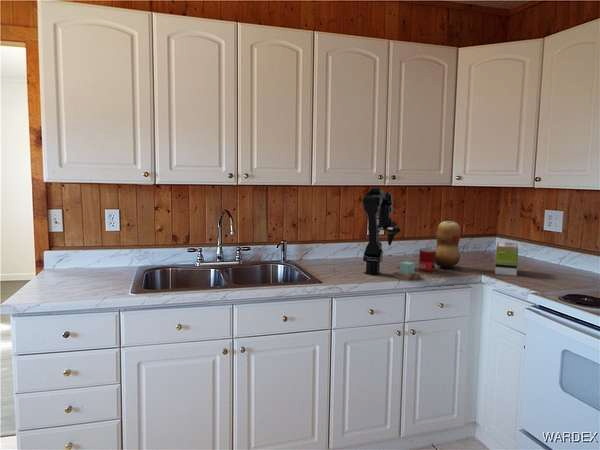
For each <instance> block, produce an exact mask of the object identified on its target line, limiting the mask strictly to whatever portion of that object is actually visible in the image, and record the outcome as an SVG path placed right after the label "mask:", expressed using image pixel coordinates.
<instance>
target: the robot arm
mask: <svg viewBox="0 0 600 450" xmlns="http://www.w3.org/2000/svg"><path fill="white" fill-rule="evenodd" d="M362 205H363V210H364V212H365V213H366V214H367V225H368V226H367V230H368V231H367V232H368V243H367V245H366V247H365V250H364V252H363V257H362V259H363V262H365V271H363V273H364V274H366V275H370V276H375V275H376V276H377V275H382V272H380V269H381V267H380V266H381V264H380V263H382V262H383V258H384V257H383V255H384V250H383V245H382V242H381V241H379V236H380V235H379V233H380V231H386V237H387V242H388V243H387V244H388V246H392V243H393V240H394V238H395V236H396V235H398V234H399V233H401V228H400V227H399V226H397V224H398V223H397V222H396V221H393V220H392V217H390V215H391V214H393V212H394V206H393V205H394V200H393V195H392V192H385V191H384V190H383V189H382V188H381V187H372V188H371V187H370V190H369V191H367V192H366V193H365V194H364V196H363V199H362Z"/></svg>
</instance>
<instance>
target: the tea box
mask: <svg viewBox="0 0 600 450" xmlns="http://www.w3.org/2000/svg"><path fill="white" fill-rule="evenodd" d="M495 248H496V249H495V264H494V265H495V266H494V268H495V269H494V273H495V275H503V276H513V277H515V276H517V275H518V274H517V273H518V258H519V246H518V243H517V242H509V241H508V242H507V241H505V242H504V241H497V242H496V246H495Z"/></svg>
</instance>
